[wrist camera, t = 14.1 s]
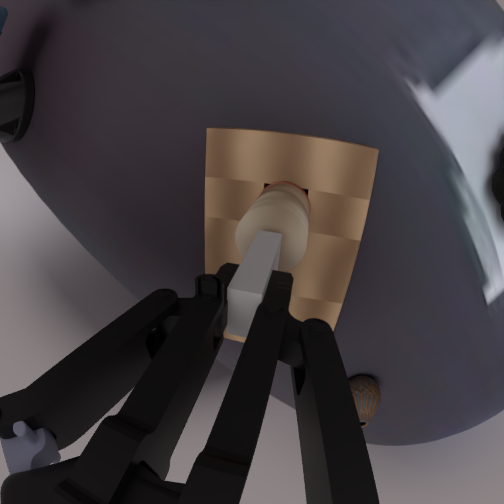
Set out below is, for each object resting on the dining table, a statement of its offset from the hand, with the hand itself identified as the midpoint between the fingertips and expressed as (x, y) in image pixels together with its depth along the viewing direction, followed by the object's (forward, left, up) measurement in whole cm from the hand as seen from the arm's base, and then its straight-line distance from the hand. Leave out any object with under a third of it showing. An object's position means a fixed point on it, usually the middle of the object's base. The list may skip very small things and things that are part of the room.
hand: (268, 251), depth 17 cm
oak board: (0, -6, -13) cm, 15 cm away
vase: (+17, -29, -14) cm, 36 cm away
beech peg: (0, 0, -13) cm, 13 cm away
